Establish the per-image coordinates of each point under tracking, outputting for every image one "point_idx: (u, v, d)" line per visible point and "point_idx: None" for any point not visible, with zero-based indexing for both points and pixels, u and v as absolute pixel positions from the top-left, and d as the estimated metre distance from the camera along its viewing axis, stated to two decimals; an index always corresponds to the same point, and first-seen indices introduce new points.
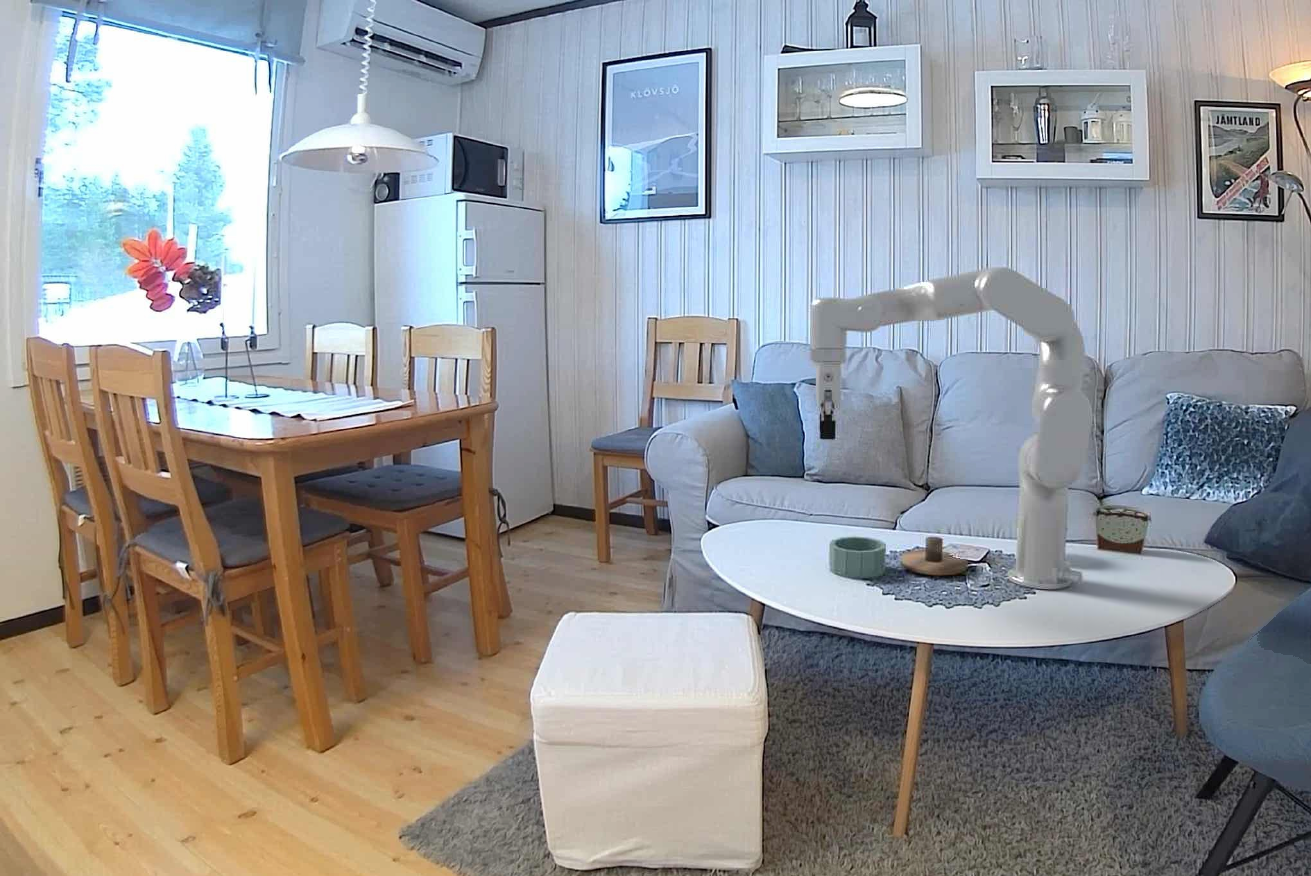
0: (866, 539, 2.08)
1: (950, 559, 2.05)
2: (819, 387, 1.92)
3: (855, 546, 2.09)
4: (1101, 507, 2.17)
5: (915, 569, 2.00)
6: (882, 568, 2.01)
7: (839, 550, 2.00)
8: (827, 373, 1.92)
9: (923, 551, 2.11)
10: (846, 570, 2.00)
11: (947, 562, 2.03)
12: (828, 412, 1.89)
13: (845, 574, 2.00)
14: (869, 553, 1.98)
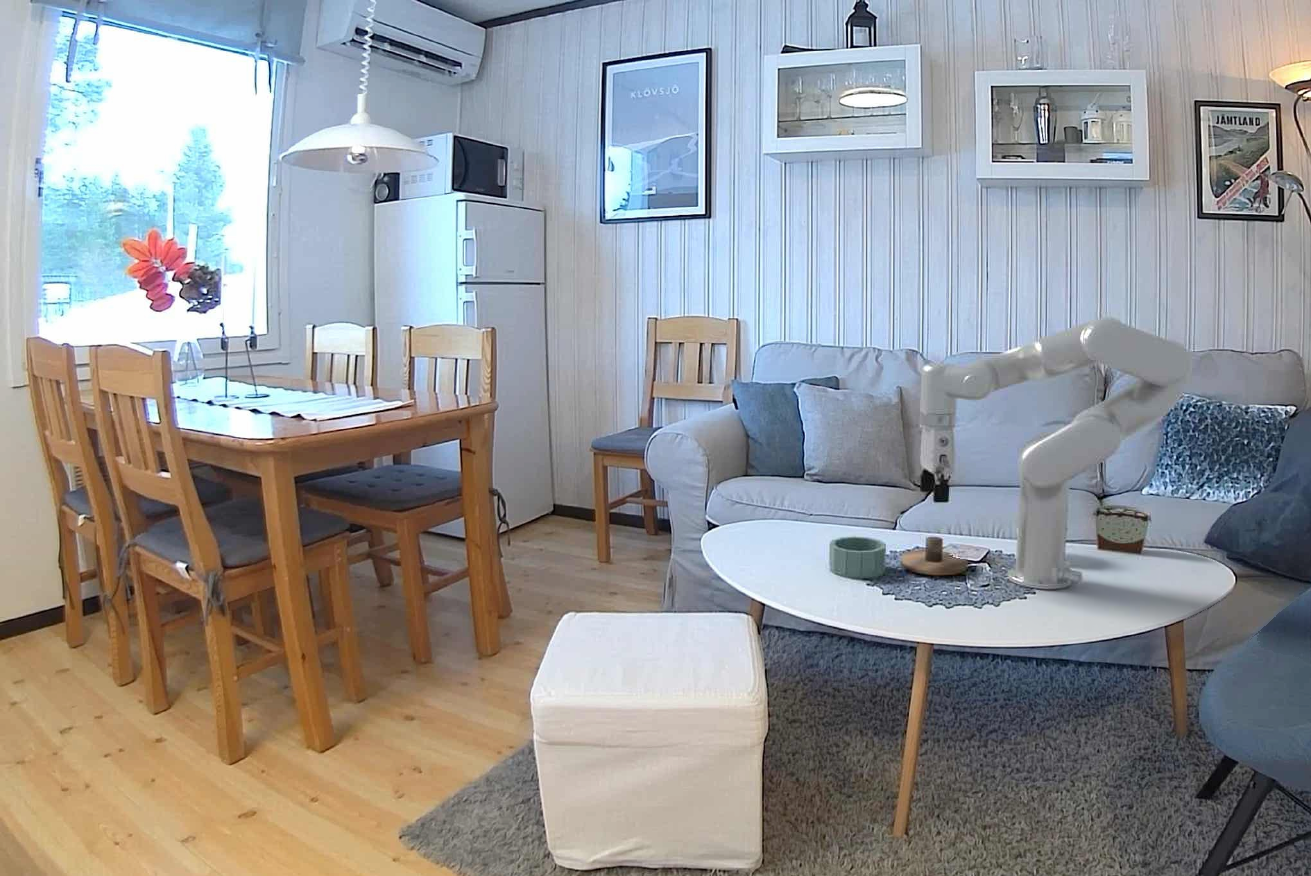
0: (866, 539, 2.08)
1: (950, 559, 2.05)
2: (934, 452, 1.96)
3: (855, 546, 2.09)
4: (1101, 507, 2.17)
5: (915, 569, 2.00)
6: (882, 568, 2.01)
7: (839, 550, 2.00)
8: (941, 438, 1.96)
9: (923, 551, 2.11)
10: (846, 570, 2.00)
11: (947, 562, 2.03)
12: (946, 477, 1.94)
13: (845, 574, 2.00)
14: (869, 553, 1.98)
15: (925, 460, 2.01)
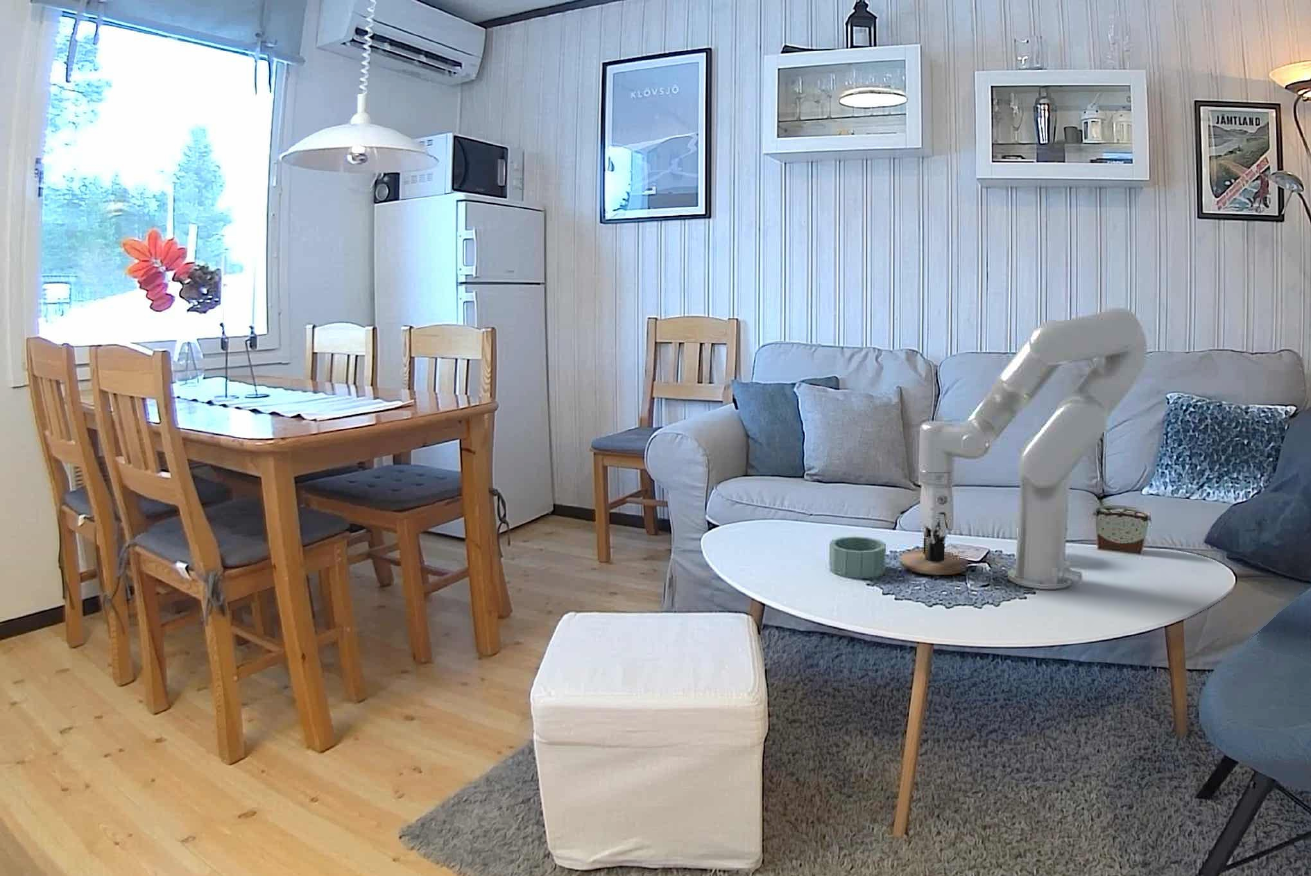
0: (866, 539, 2.08)
1: (950, 558, 2.05)
2: (933, 510, 1.98)
3: (855, 546, 2.09)
4: (1101, 507, 2.17)
5: (915, 568, 2.00)
6: (882, 568, 2.01)
7: (839, 550, 2.00)
8: (940, 496, 1.98)
9: None
10: (846, 570, 2.00)
11: (947, 561, 2.03)
12: (941, 539, 1.99)
13: (845, 574, 2.00)
14: (869, 553, 1.98)
15: (924, 516, 2.03)
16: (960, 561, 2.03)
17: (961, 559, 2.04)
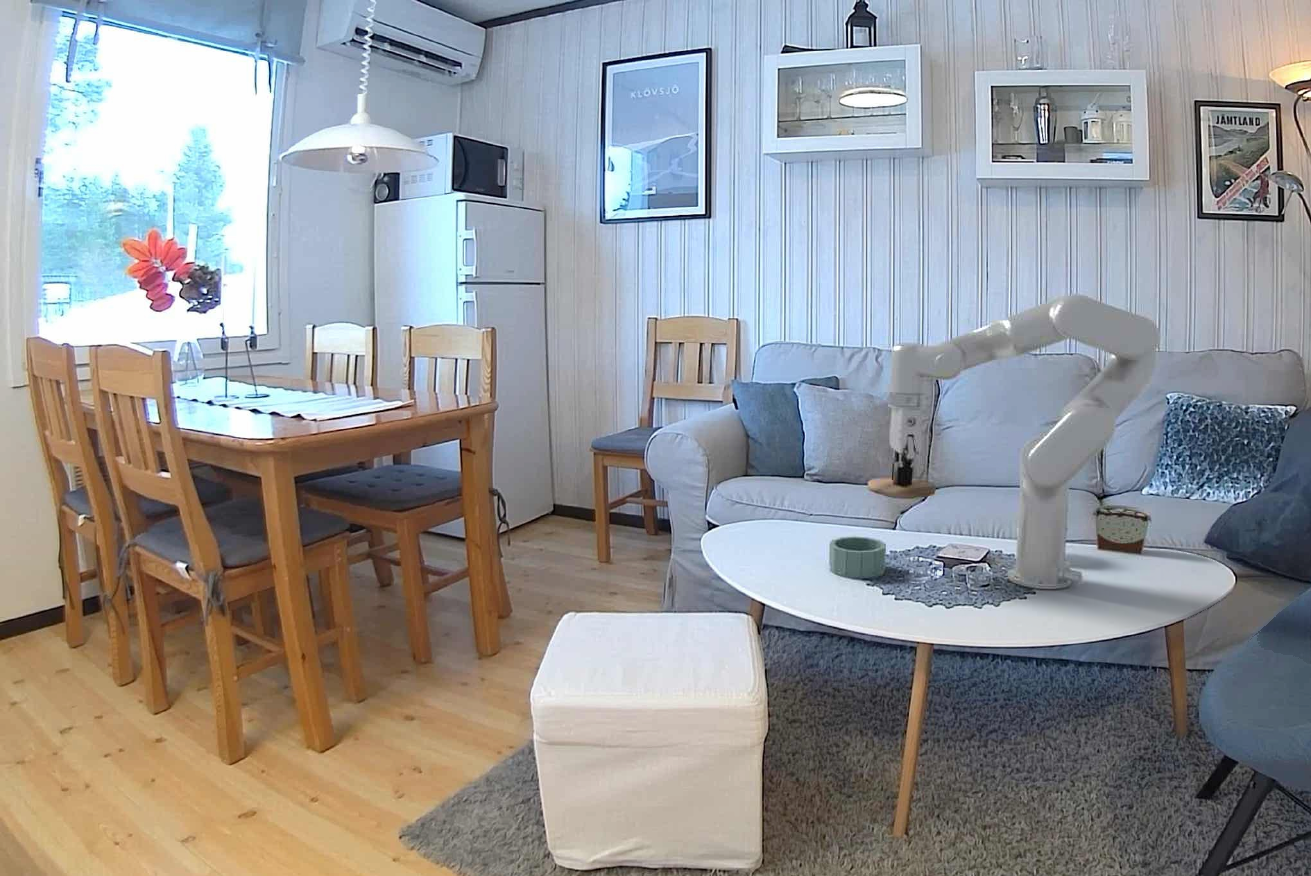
0: (866, 539, 2.08)
1: (918, 484, 2.02)
2: (902, 432, 1.95)
3: (855, 546, 2.09)
4: (1101, 507, 2.17)
5: (882, 491, 1.97)
6: (882, 568, 2.01)
7: (839, 550, 2.00)
8: (909, 418, 1.95)
9: None
10: (846, 570, 2.00)
11: (915, 486, 2.00)
12: (909, 461, 1.96)
13: (845, 574, 2.00)
14: (869, 553, 1.98)
15: (893, 440, 2.00)
16: (928, 486, 2.00)
17: (929, 485, 2.01)
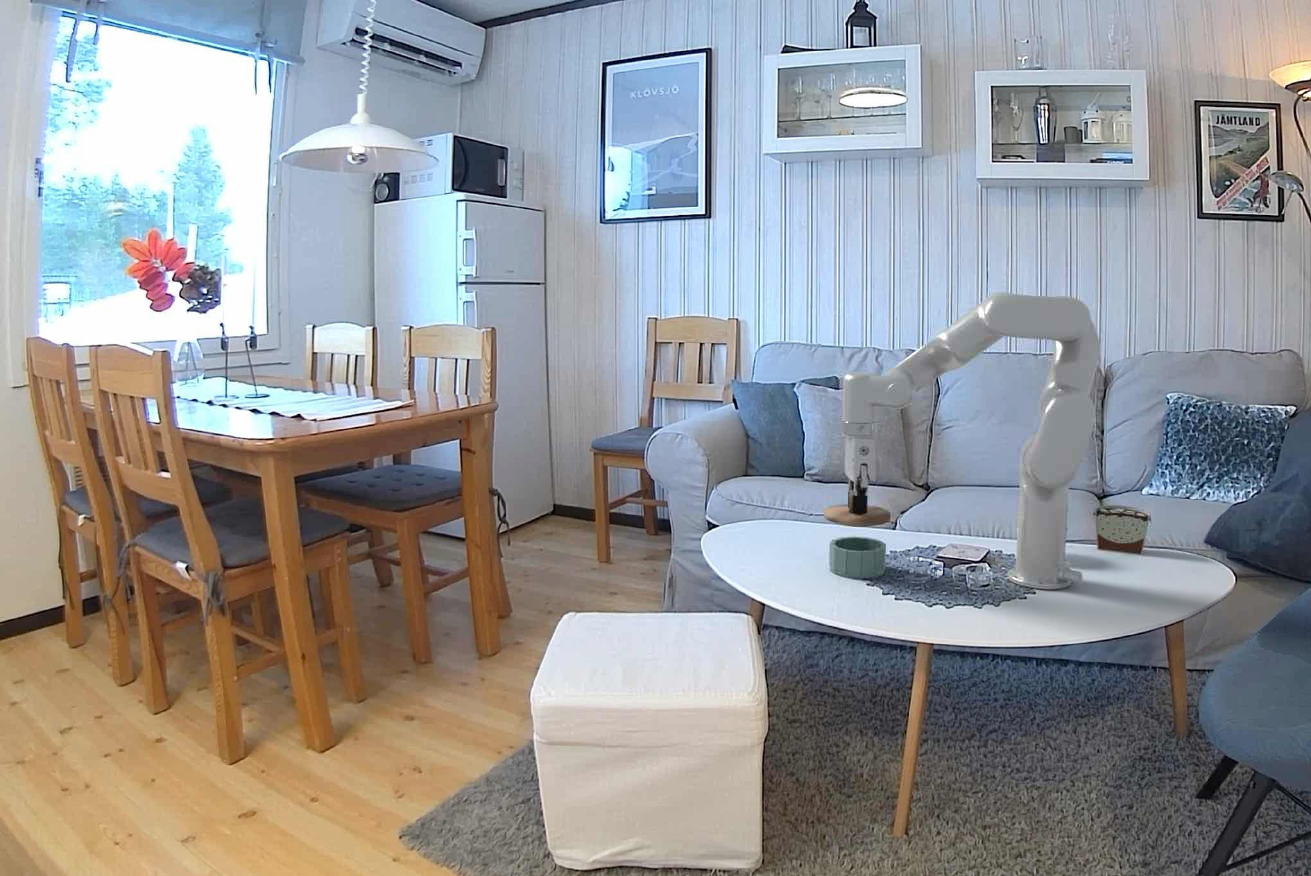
0: (866, 539, 2.08)
1: (874, 511, 2.03)
2: (855, 461, 1.96)
3: (855, 546, 2.09)
4: (1101, 507, 2.17)
5: (837, 520, 1.98)
6: (882, 568, 2.01)
7: (839, 550, 2.00)
8: (862, 447, 1.96)
9: None
10: (846, 570, 2.00)
11: (870, 514, 2.01)
12: (863, 490, 1.97)
13: (845, 574, 2.00)
14: (869, 553, 1.98)
15: (848, 468, 2.01)
16: (883, 514, 2.01)
17: (885, 512, 2.02)
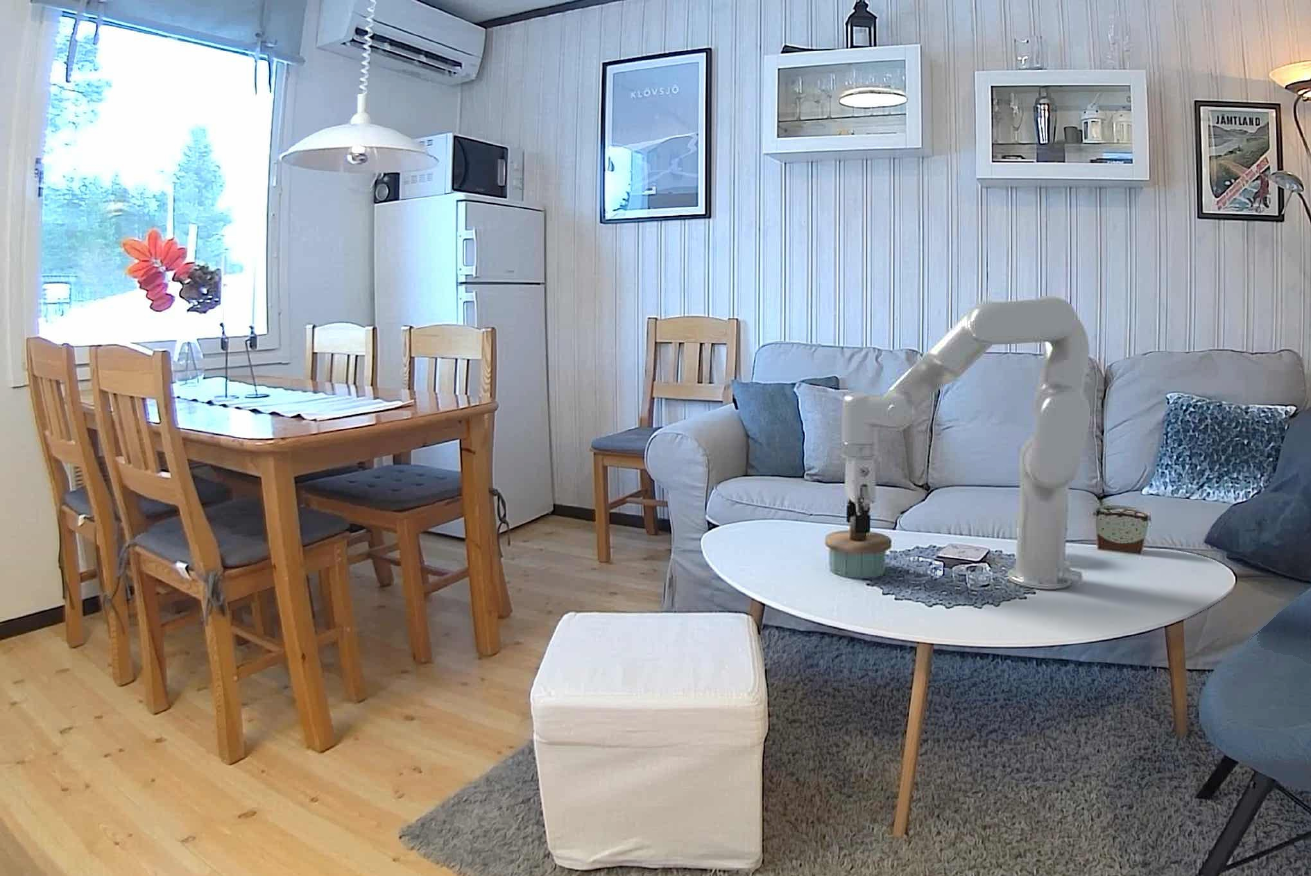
0: None
1: (874, 538, 2.04)
2: (855, 482, 1.97)
3: None
4: (1101, 507, 2.17)
5: (838, 548, 1.99)
6: (882, 568, 2.01)
7: None
8: (862, 468, 1.97)
9: (850, 531, 2.10)
10: (846, 570, 2.00)
11: (871, 541, 2.02)
12: (866, 509, 1.95)
13: (845, 574, 2.00)
14: None
15: (848, 489, 2.02)
16: (884, 541, 2.02)
17: (885, 539, 2.03)
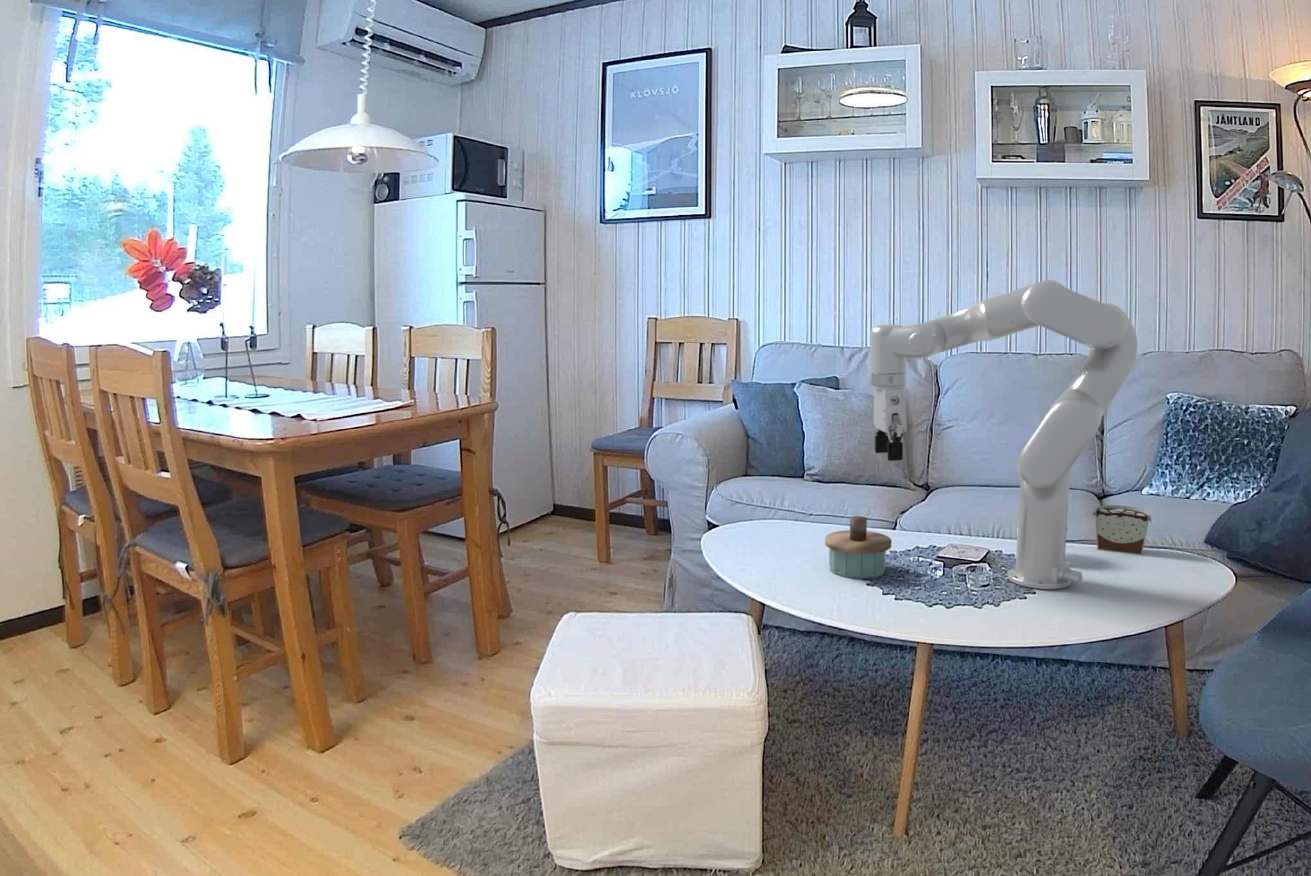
0: None
1: (874, 538, 2.04)
2: (886, 411, 2.00)
3: None
4: (1101, 507, 2.17)
5: (838, 548, 1.99)
6: (882, 568, 2.01)
7: None
8: (892, 397, 2.00)
9: (850, 531, 2.10)
10: (846, 570, 2.00)
11: (871, 541, 2.02)
12: (899, 434, 1.98)
13: (845, 574, 2.00)
14: None
15: (878, 420, 2.05)
16: (884, 541, 2.02)
17: (885, 539, 2.03)
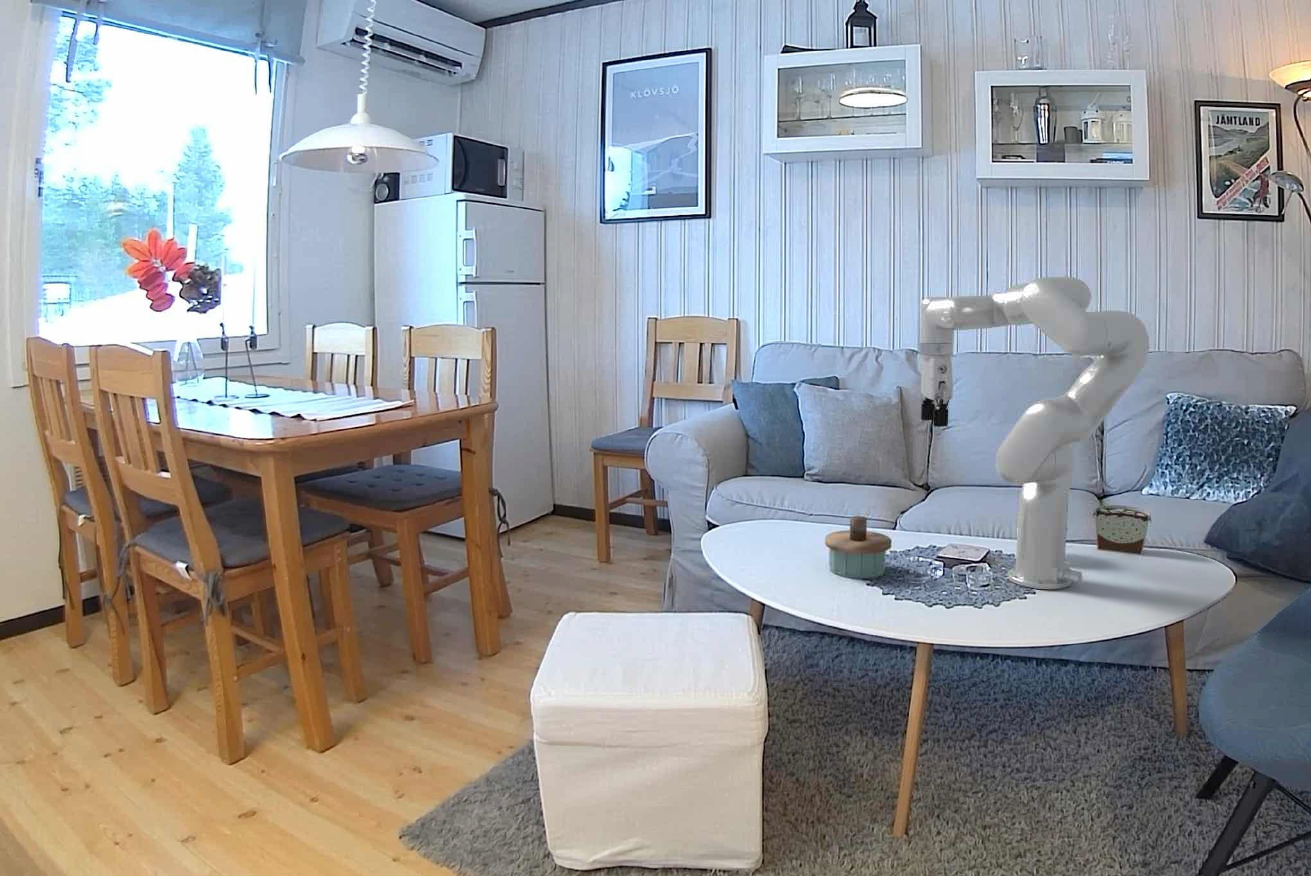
0: None
1: (874, 538, 2.04)
2: (934, 379, 2.10)
3: None
4: (1101, 507, 2.17)
5: (838, 548, 1.99)
6: (882, 568, 2.01)
7: None
8: (940, 366, 2.10)
9: (850, 531, 2.10)
10: (846, 570, 2.00)
11: (871, 541, 2.02)
12: (945, 401, 2.07)
13: (845, 574, 2.00)
14: None
15: (925, 388, 2.15)
16: (884, 541, 2.02)
17: (885, 539, 2.03)
